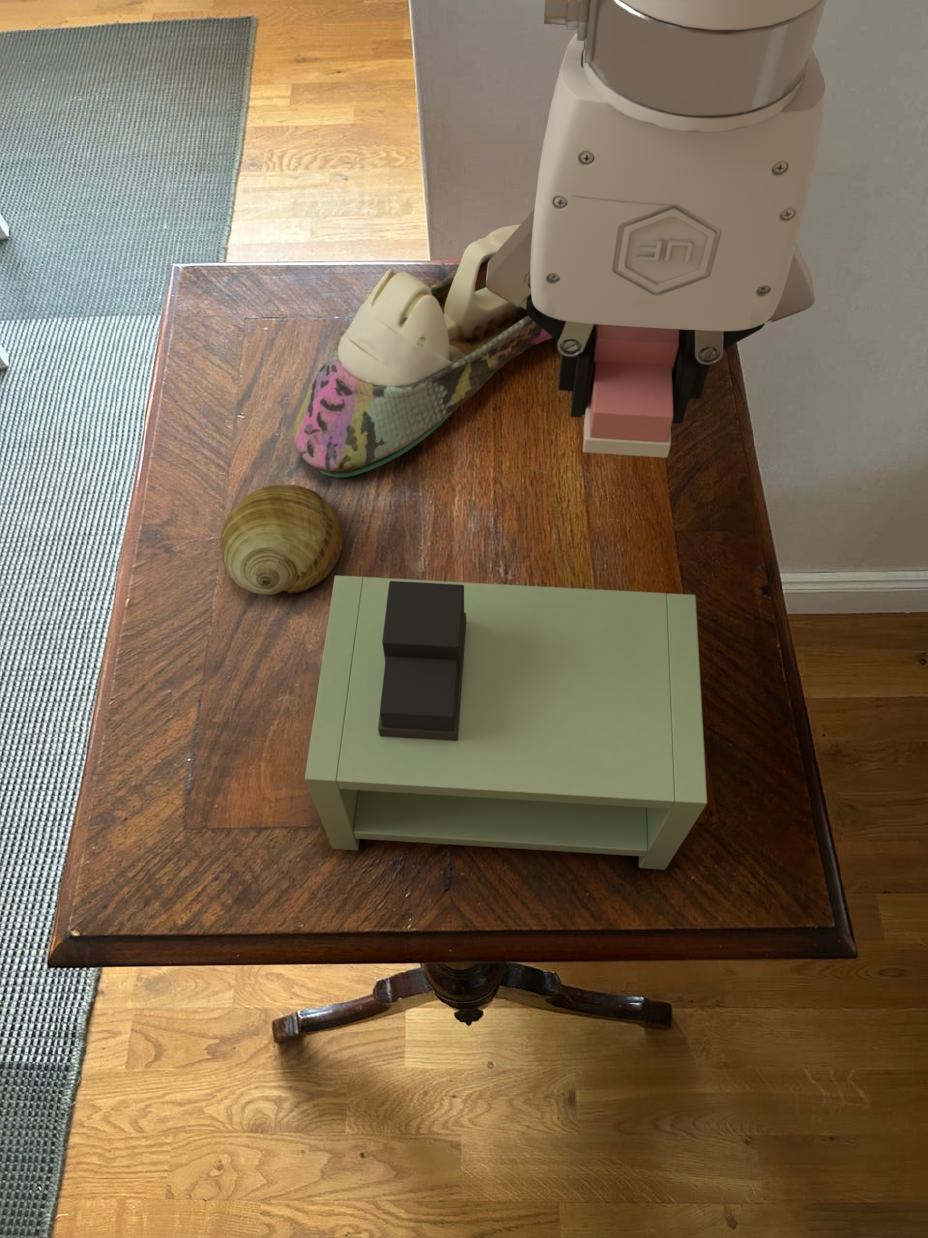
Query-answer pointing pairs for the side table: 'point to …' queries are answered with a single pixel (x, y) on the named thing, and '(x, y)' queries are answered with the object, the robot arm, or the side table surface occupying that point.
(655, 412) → the pink stepped block
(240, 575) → the seashell
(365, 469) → the ballet flat
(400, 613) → the black stepped block
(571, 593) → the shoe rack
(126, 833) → the side table surface
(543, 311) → the robot arm
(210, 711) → the side table surface
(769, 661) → the side table surface
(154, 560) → the side table surface
